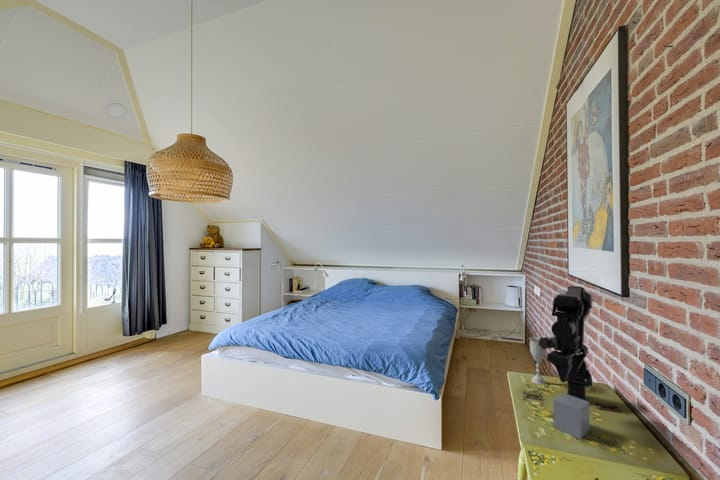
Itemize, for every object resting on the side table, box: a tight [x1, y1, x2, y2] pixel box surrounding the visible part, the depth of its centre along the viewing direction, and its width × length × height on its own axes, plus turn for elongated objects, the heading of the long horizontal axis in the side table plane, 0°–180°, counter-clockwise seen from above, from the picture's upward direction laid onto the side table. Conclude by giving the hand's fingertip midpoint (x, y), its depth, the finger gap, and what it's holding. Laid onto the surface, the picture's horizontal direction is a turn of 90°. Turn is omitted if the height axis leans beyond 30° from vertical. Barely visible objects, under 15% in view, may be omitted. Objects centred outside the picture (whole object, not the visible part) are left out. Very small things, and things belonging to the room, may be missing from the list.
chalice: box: [528, 336, 547, 386], centre depth 132 cm, size 7×7×18 cm
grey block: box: [553, 392, 591, 440], centre depth 99 cm, size 7×7×9 cm
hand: (568, 378), depth 106 cm, fingers open, 9 cm apart
